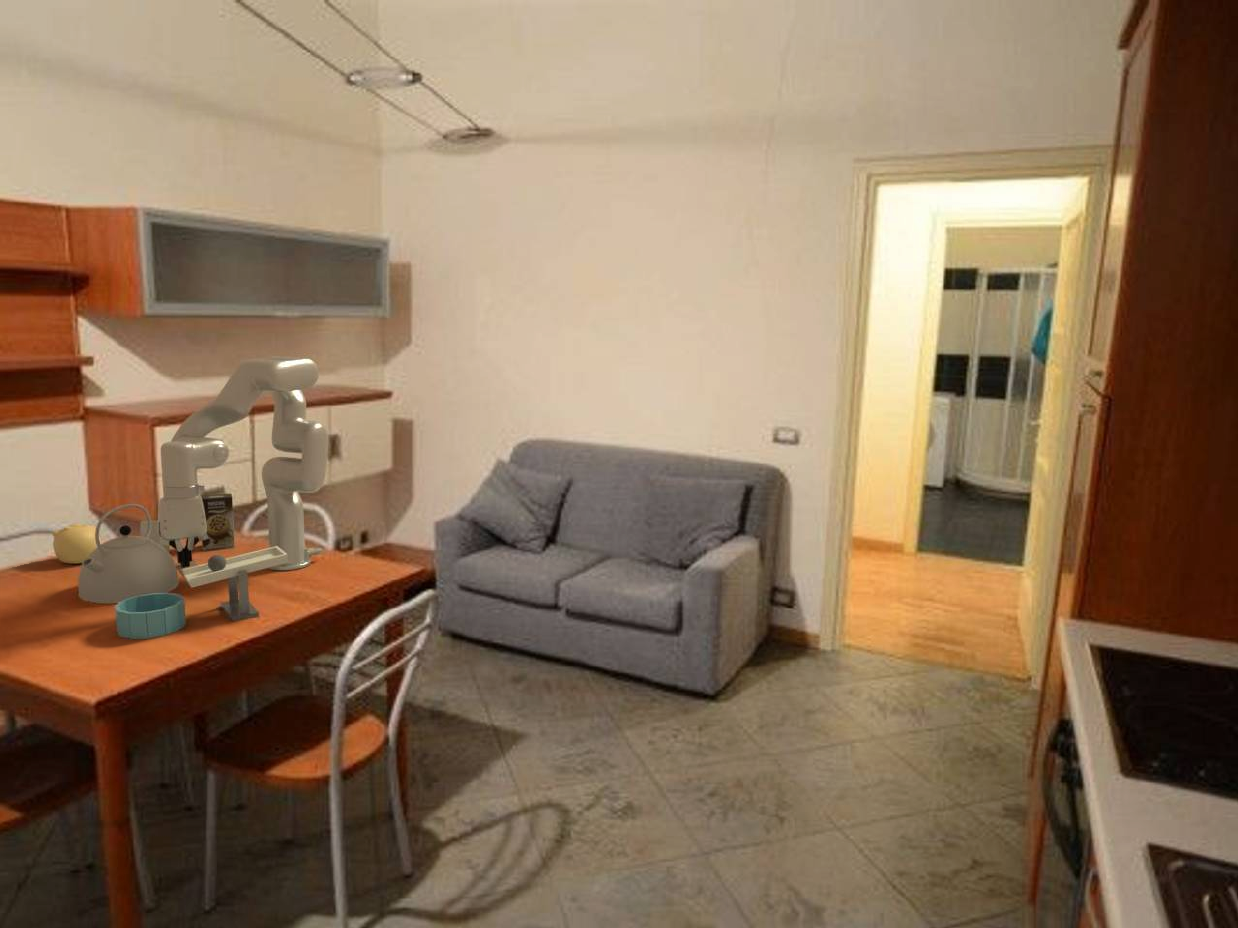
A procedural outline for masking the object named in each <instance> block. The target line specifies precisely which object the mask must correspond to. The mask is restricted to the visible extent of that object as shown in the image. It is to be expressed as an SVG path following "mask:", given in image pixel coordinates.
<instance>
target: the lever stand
mask: <svg viewBox="0 0 1238 928" xmlns="http://www.w3.org/2000/svg"><path fill="white" fill-rule="evenodd" d="M248 579H249V577H248V573H247V571H242V572H238V576H234V577H230V578H227V586H228V601H222V602H219V604H220V605H219V606H220V608H221V610H222V611H223V612H224V613H225V614H226V615H227V616H228V618H229V619H230V620H231V621H232V622H236V620H237V621H242V620H246V619H253V618H257V617H260V612H259V611H258V610H257V609H256V607H255V606H254V605H253V604H252V603H251V602H250V596H249V595H250V594H249V580H248Z"/></svg>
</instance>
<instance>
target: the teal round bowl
mask: <svg viewBox="0 0 1238 928" xmlns="http://www.w3.org/2000/svg"><path fill="white" fill-rule="evenodd" d="M114 611H115V612H114V613H115V624H116V625H115V626H116V627H115V628H116V632H117V635H118V636H119V637H120V638H125V639H128V638H129V639H128V640H147V639H154V638H158V637H164V636H168V635H171V634H173V633H175V632H177V631H180V630H181V629H183V628H184V627H185V625H186V624H187V618H186V606H185V598H184V597H183V595H181V594H178V593H173V592H168V593H151V594H145V595H139V596H135V597H132V598H129V599H125V600H122V601H121V602H120V603H116V605H114Z"/></svg>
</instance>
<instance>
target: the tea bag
mask: <svg viewBox="0 0 1238 928" xmlns="http://www.w3.org/2000/svg"><path fill="white" fill-rule="evenodd" d="M139 523H140V525H139V526H140V527H139V528H140V531H139V536H141V537H145V535H146V532H147V529H148V521H147V520H142V521H139ZM159 537H160V535H159V532H158V520H151V531H150V534H149V537H148V539H150V540H152V541H154V542H156V543H158V544H159ZM161 546H162V547H164V548H165V549H166V550H167V551H168V552H169V553H170V552H171V550H170V545H161Z"/></svg>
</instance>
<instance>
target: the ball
mask: <svg viewBox="0 0 1238 928" xmlns="http://www.w3.org/2000/svg"><path fill="white" fill-rule="evenodd" d="M207 563H208V567H209V568H210V569H211V570H212V571H215V572H216V571H220V570H223V569H224V568H225V566H226V558H225V557H224V556H223V555H221V554H215V555H211V556H210V558H209V559H208V560H207Z"/></svg>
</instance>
